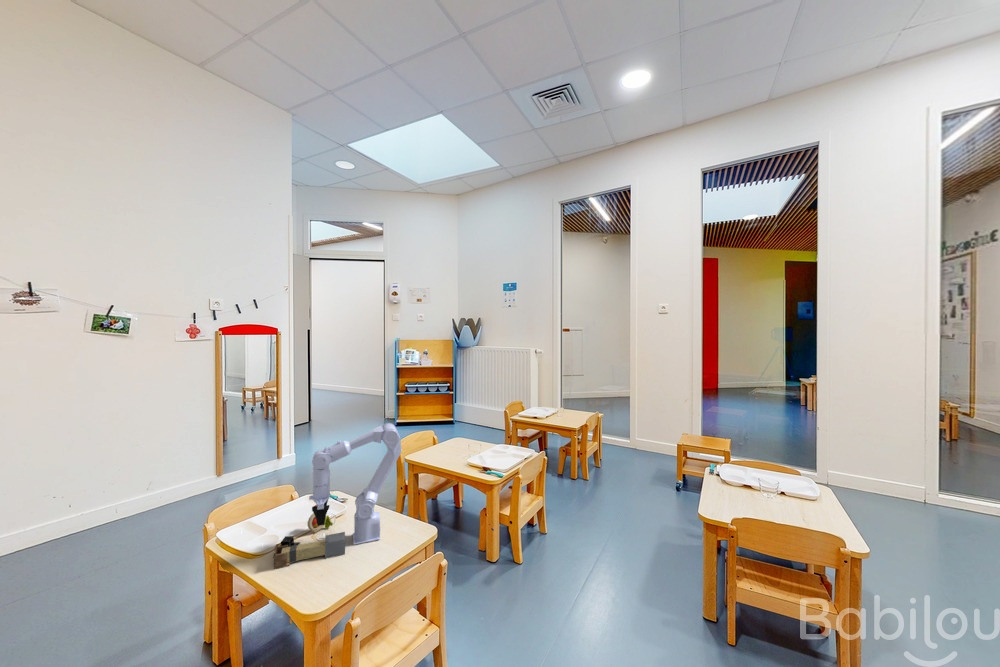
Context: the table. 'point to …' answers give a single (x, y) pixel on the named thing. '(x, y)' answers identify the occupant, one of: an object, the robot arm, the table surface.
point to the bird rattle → (313, 523)
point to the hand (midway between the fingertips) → (321, 519)
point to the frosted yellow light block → (304, 551)
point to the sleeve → (335, 545)
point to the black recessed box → (289, 541)
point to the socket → (280, 557)
